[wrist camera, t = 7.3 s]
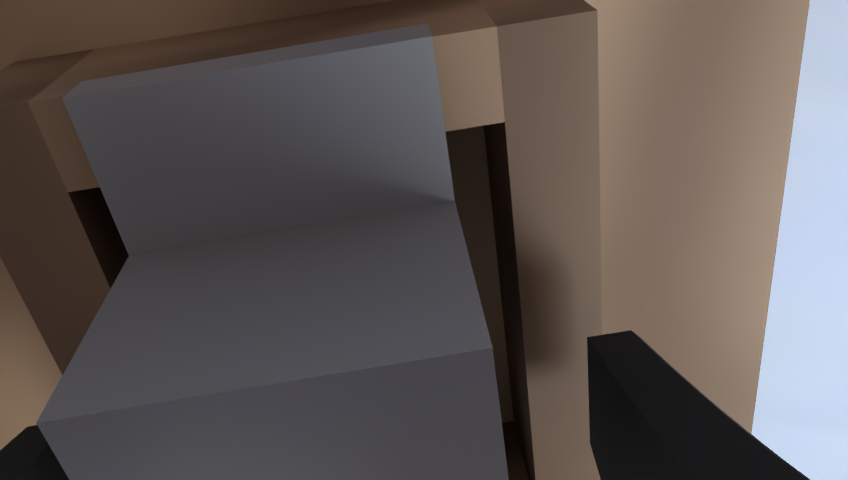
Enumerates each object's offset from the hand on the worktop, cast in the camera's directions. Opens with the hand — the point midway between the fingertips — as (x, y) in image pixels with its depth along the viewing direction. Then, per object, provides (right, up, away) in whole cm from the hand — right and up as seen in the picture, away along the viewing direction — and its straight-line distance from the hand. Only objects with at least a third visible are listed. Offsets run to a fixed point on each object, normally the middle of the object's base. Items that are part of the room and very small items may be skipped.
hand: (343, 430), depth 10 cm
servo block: (0, +2, +3) cm, 3 cm away
